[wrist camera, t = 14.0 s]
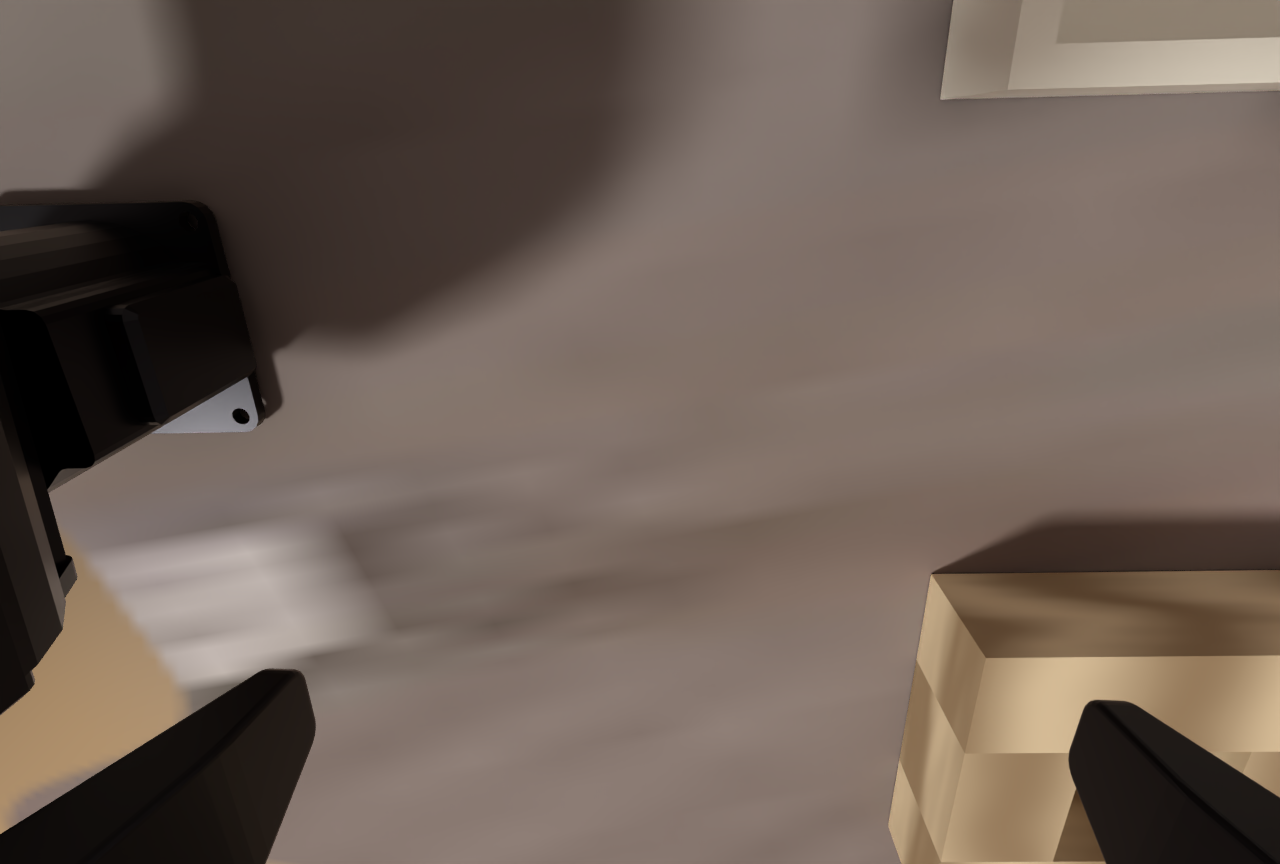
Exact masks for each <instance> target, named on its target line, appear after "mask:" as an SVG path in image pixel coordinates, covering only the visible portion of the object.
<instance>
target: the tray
mask: <svg viewBox="0 0 1280 864" xmlns="http://www.w3.org/2000/svg"><path fill="white" fill-rule="evenodd" d="M1246 91H1280V0H953V7H952V14H951V22H950V29H949V37H948V44H947V52H946V59H945V67H944V74H943V81H942V89H941V96H940V100H946V99H984V98H1021V97H1059V96H1096V95H1134V94H1171V93H1209V92H1246Z"/></svg>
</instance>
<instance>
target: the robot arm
mask: <svg viewBox="0 0 1280 864" xmlns="http://www.w3.org/2000/svg"><path fill="white" fill-rule="evenodd" d="M189 213H192V214H193V215H194V216H195V217H196V219H197V221H198V227H197V229H194V228H193V227H192V226H191V225H190V224H189V222H188V214H189ZM255 368H256V361H255V357H254V353H253V349H252V345H251V341H250V337H249V333H248V329H247V325H246V321H245V318H244V314H243V310H242V306H241V302H240V298H239V294H238V290H237V286H236V284H235V283H234V282H233V281H232V280H231V277H230V273H229V269H228V265H227V261H226V258H225V254H224V250H223V246H222V242H221V238H220V234H219V230H218V226H217V222H216V219H215V217H214V215H213V212H212V211H211V210H210V209H209V208H208V207H207V206H206V205H204V204H202V203H201V202H197V201H155V202H113V203H72V204H30V205H0V715H1V714H2V713H4V712H5V711H6V710H7V709H9V708H10V707H11V706H12V705H14V704H15V703H16V702H17V701H18V700H20V699H21V698H22V697H23V696H24V695H25V694H26V693H27V692H29V691H30V689H31V688H32V687H33V685H34V682H35V679H34V676H33V673H32V669H33V668H34V667H35V666H37V664H38V663H39V662H40V660H41V659H42V658H43V656H44V655H45V653H46V652H47V651H48V649H49V648H50V646H51V645H52V644H53V642H54V641H55V639H56V638H57V637H58V635H59V634H60V632H61V631H62V629H63V622H64V613H65V603H66V601H65V597H66V595H67V594H68V592H69V591H70V589H71V588H72V586H73V584H74V583H75V581H76V580H77V573H76V570H75V566H74V562H73V559H72V557H71V556H68V555H65V551H64V548H63V544H62V541H61V537H60V533H59V530H58V526H57V523H56V519H55V515H54V512H53V508H52V505H51V501H50V498H49V494H48V493H49V492H51V491H52V490H54V489H56V488H58V487H59V486H61V485H63V484H64V483H66V482H68V481H70V480H71V479H73V478H75V477H76V476H78V475H80V474H82V473H83V472H85V471H87V470H88V469H90V468H92V467H94V466H95V465H97V464H99V463H100V462H102V461H104V460H106V459H107V458H109V457H111V456H112V455H114V454H116V453H118V452H119V451H121V450H123V449H125V448H126V447H128V446H130V445H131V444H133V443H135V442H137V441H138V440H140V439H142V438H143V437H145V436H147V435H149V434H151V433H212V432H247V431H251V430H253V429H254V428H256V427H257V426H258V425H260V424H261V423H262V422H263V421H264V418H265V410H264V406H263V402H262V398H261V394H260V390H259V386H258V382H257V379H256V375H255V371H254V370H255ZM240 408H241V409H244V410H245V411H247V412H248V414H249V416H250V419H246V418H245V417H243V416H242V415H241V413H240ZM315 730H316V723H315V717H314V713H313V709H312V705H311V700H310V696H309V692H308V688H307V684H306V680H305V677H304V675H303V674H302V673H301V672H300V671H298V670H295V669H265V670H262V671H260V672H258V673H256V674H255V675H253V676H252V677H250V678H248V679H247V680H245V681H244V682H242V683H240V684H239V685H237V686H236V687H234V688H232V689H231V690H229V691H228V692H226V693H224V694H223V695H221V696H220V697H218V698H216V699H215V700H213V701H212V702H210V703H209V704H207V705H205V706H204V707H202V708H201V709H199V710H197V711H196V712H194V713H193V714H191V715H189V716H188V717H186V718H185V719H183V720H181V721H180V722H178V723H177V724H175V725H173V726H172V727H170V728H169V729H167V730H166V731H164V732H162V733H161V734H159V735H158V736H156V737H154V738H153V739H151V740H150V741H148V742H146V743H145V744H143V745H142V746H140V747H138V748H137V749H135V750H134V751H132V752H131V753H129V754H127V755H126V756H124V757H123V758H121V759H119V760H118V761H116V762H115V763H113V764H111V765H110V766H108V767H107V768H105V769H103V770H102V771H100V772H99V773H97V774H95V775H94V776H92V777H91V778H89V779H88V780H86V781H84V782H83V783H81V784H80V785H78V786H76V787H75V788H73V789H72V790H70V791H68V792H67V793H65V794H64V795H62V796H60V797H59V798H57V799H56V800H54V801H53V802H51V803H49V804H48V805H46V806H45V807H43V808H41V809H40V810H38V811H37V812H35V813H33V814H32V815H30V816H29V817H27V818H25V819H24V820H22V821H21V822H19V823H17V824H16V825H14V826H13V827H11V828H9V829H8V830H6V831H5V832H3V833H2V834H0V864H265V863H266V861H267V859H268V856H269V854H270V851H271V849H272V846H273V844H274V841H275V839H276V836H277V833H278V831H279V828H280V826H281V823H282V821H283V818H284V816H285V813H286V810H287V808H288V805H289V803H290V800H291V798H292V795H293V793H294V790H295V787H296V785H297V782H298V780H299V777H300V775H301V772H302V770H303V767H304V764H305V762H306V759H307V757H308V754H309V752H310V749H311V746H312V744H313V741H314V736H315ZM1068 762H1069V769H1070V773H1071V776H1072V779H1073V782H1074V784H1075V787H1076V789H1077V792H1078V794H1079V797H1080V800H1081V802H1082V805H1083V807H1084V810H1085V812H1086V815H1087V817H1088V820H1089V822H1090V825H1091V827H1092V830H1093V832H1094V835H1095V837H1096V840H1097V843H1098V845H1099V848H1100V850H1101V853H1102V855H1103V858H1104V860H1105V863H1106V864H1280V797H1278V796H1277V795H1275V794H1274V793H1272V792H1271V791H1269V790H1267V789H1266V788H1264V787H1263V786H1261V785H1260V784H1258V783H1257V782H1255V781H1254V780H1252V779H1250V778H1249V777H1247V776H1246V775H1244V774H1243V773H1241V772H1240V771H1238V770H1236V769H1235V768H1233V767H1232V766H1230V765H1229V764H1227V763H1226V762H1224V761H1222V760H1221V759H1219V758H1218V757H1216V756H1215V755H1213V754H1212V753H1210V752H1208V751H1207V750H1205V749H1204V748H1202V747H1201V746H1199V745H1198V744H1196V743H1195V742H1193V741H1191V740H1190V739H1188V738H1187V737H1185V736H1184V735H1182V734H1181V733H1179V732H1177V731H1176V730H1174V729H1173V728H1171V727H1170V726H1168V725H1167V724H1165V723H1163V722H1162V721H1160V720H1159V719H1157V718H1156V717H1154V716H1153V715H1151V714H1149V713H1148V712H1146V711H1145V710H1143V709H1142V708H1140V707H1139V706H1137V705H1135V704H1133V703H1131V702H1127V701H1118V700H1092V701H1090V702H1088V703H1087V704H1086V705H1085V707H1084V709H1083V712H1082V714H1081V717H1080V720H1079V723H1078V726H1077V729H1076V732H1075V735H1074V738H1073V741H1072V744H1071V747H1070V750H1069V757H1068Z"/></svg>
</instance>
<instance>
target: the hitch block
mask: <svg viewBox="0 0 1280 864" xmlns="http://www.w3.org/2000/svg"><path fill="white" fill-rule="evenodd" d="M1092 700H1118V701H1127V702H1131V703H1133V704H1135V705H1137V706H1139V707H1140V708H1142V709H1143V710H1145V711H1146V712H1148V713H1149V714H1151V715H1153V716H1154V717H1156V718H1157V719H1159V720H1160V721H1162V722H1163V723H1165V724H1167V725H1168V726H1170V727H1171V728H1173V729H1174V730H1176V731H1177V732H1179V733H1181V734H1182V735H1184V736H1185V737H1187V738H1188V739H1190V740H1191V741H1193V742H1195V743H1196V744H1198V745H1199V746H1201V747H1202V748H1204V749H1205V750H1207V751H1208V752H1210V753H1212V754H1213V755H1215V756H1216V757H1218V758H1219V759H1221V760H1222V761H1224V762H1226V763H1227V764H1229V765H1230V766H1232V767H1233V768H1235V769H1236V770H1238V771H1240V772H1241V773H1243V774H1244V775H1246V776H1247V777H1249V778H1250V779H1252V780H1254V781H1255V782H1257V783H1258V784H1260V785H1261V786H1263V787H1264V788H1266V789H1267V790H1269V791H1271V792H1272V793H1274V794H1275V795H1277V796H1278V797H1280V570H1237V571H1151V572H1065V573H979V574H931V578H930V584H929V590H928V596H927V601H926V607H925V613H924V619H923V625H922V631H921V636H920V642H919V648H918V654H917V660H916V666H915V671H914V677H913V683H912V689H911V695H910V701H909V706H908V712H907V718H906V724H905V730H904V736H903V742H902V747H901V753H900V759H899V765H898V771H897V777H896V782H895V788H894V794H893V800H892V806H891V812H890V817H889V823H888V826H889V829H890V832H891V835H892V838H893V841H894V844H895V847H896V849H897V852H898V855H899V858H900V861H901V864H1106V863H1105V860H1104V858H1103V855H1102V853H1101V850H1100V848H1099V845H1098V843H1097V840H1096V837H1095V835H1094V832H1093V830H1092V827H1091V825H1090V822H1089V820H1088V817H1087V815H1086V812H1085V810H1084V807H1083V805H1082V802H1081V800H1080V797H1079V794H1078V792H1077V789H1076V787H1075V784H1074V782H1073V779H1072V776H1071V773H1070V769H1069V762H1068V757H1069V750H1070V747H1071V744H1072V741H1073V738H1074V735H1075V732H1076V729H1077V726H1078V723H1079V720H1080V717H1081V714H1082V712H1083V709H1084V707H1085V705H1086V704H1087V703H1088V702H1090V701H1092Z"/></svg>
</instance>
